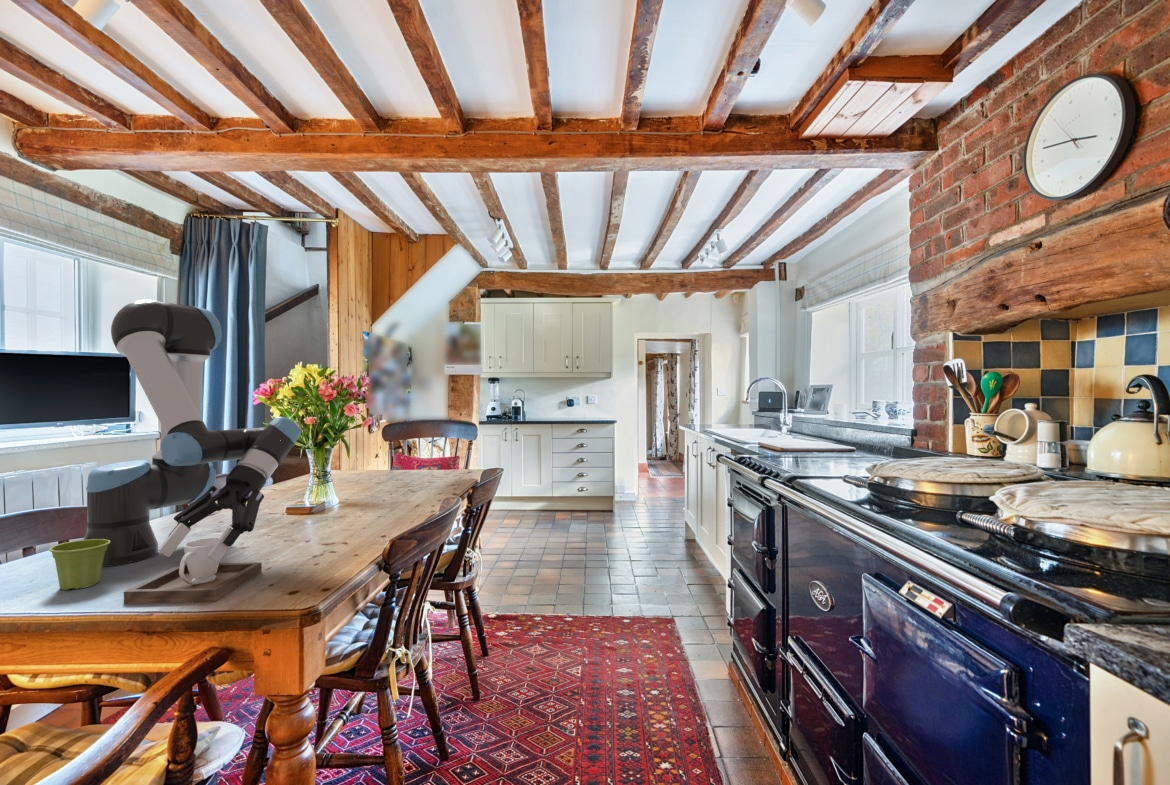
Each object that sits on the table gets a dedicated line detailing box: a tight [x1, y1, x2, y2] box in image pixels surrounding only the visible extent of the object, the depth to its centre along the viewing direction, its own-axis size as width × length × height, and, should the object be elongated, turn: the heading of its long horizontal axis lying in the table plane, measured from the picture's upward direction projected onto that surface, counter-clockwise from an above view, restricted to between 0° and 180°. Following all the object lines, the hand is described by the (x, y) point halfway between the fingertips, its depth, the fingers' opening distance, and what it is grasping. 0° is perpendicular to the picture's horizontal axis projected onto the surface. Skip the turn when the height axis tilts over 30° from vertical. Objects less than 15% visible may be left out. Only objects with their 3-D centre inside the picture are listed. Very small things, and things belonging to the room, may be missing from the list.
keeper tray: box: [123, 561, 263, 605], centre depth 112 cm, size 17×17×2 cm
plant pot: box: [48, 539, 110, 591], centre depth 113 cm, size 9×9×9 cm
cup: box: [179, 537, 221, 584], centre depth 112 cm, size 7×10×8 cm
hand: (187, 556), depth 110 cm, fingers open, 13 cm apart
